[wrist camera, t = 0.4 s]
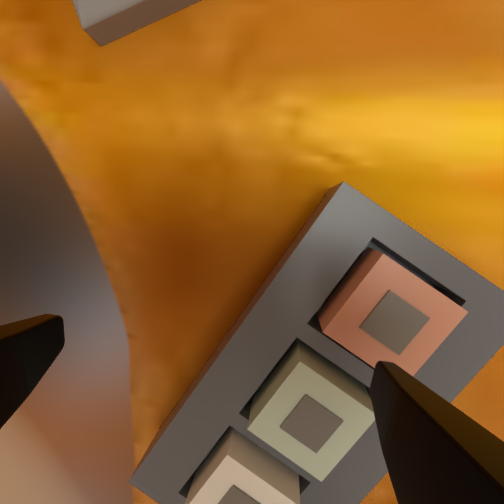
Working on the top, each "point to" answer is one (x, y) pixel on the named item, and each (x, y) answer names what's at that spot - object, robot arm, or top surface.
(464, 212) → the top surface
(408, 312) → the terracotta key
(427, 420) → the robot arm
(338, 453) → the sage key
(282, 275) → the gray keypad housing
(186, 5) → the grey flat block
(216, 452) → the cream key
